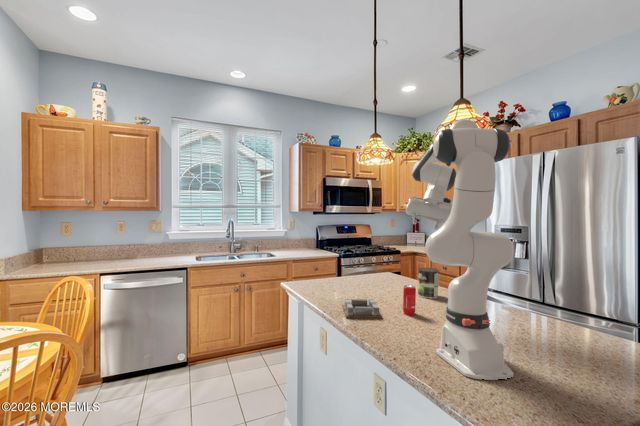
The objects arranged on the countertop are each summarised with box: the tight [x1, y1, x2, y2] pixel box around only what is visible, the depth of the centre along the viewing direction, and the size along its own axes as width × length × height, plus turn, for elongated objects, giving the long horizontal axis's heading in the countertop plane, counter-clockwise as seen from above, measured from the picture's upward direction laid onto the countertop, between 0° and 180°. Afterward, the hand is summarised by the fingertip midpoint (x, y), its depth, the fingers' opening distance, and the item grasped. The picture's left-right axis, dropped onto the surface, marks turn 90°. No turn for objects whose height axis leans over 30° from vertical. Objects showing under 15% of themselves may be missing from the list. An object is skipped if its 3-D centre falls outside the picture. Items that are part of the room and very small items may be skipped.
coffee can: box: [417, 267, 439, 300], centre depth 165 cm, size 10×10×14 cm
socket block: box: [341, 298, 383, 320], centre depth 137 cm, size 15×15×4 cm
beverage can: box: [402, 284, 417, 316], centre depth 137 cm, size 5×5×12 cm
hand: (425, 226), depth 136 cm, fingers open, 8 cm apart
